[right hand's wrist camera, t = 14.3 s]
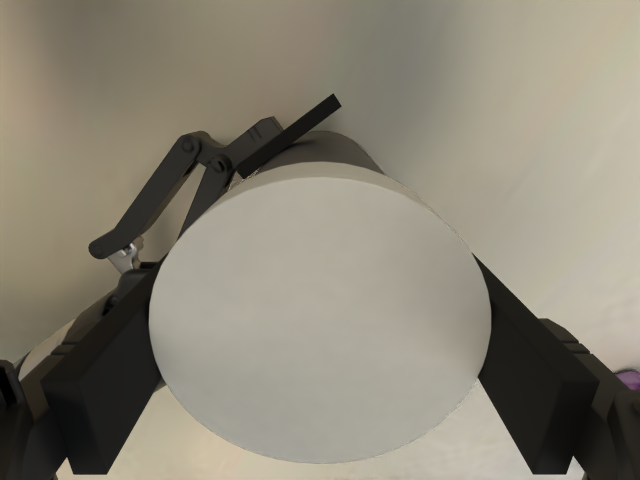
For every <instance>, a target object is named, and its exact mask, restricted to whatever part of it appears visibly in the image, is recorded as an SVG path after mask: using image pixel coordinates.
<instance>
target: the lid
mask: <svg viewBox="0 0 640 480" xmlns="http://www.w3.org/2000/svg"><path fill="white" fill-rule="evenodd" d="M149 333H150V340H151V345H152V349H153V354H154V357H155V361H156V363H157V366H158V368H159V370H160V373H161V375H162V377H163V379H164V381H165V382H166V384H167V385H168V387H169V389H170V390H171V392H172V394H173V395H174V396H175V397H176V399H177V400H178V401H179V402H180V404H181V405H182V406H183V407H184V408H185V409H186V410H187V411H188V412H189V413H190V414H191V415H192V416H193V417H194V418H195V419H196V420H197V421H199V422H200V423H201V424H202V425H204V426H205V427H206V428H208V429H209V430H210V431H212V432H213V433H215V434H216V435H218V436H220V437H221V438H223V439H225V440H226V441H228V442H230V443H232V444H235V445H237V446H239V447H241V448H243V449H245V450H248V451H251V452H254V453H257V454H259V455H262V456H266V457H270V458H274V459H278V460H284V461H290V462H297V463H311V464H329V463H342V462H350V461H357V460H361V459H366V458H370V457H374V456H377V455H380V454H384V453H387V452H390V451H392V450H395V449H397V448H399V447H401V446H404V445H406V444H408V443H410V442H412V441H414V440H415V439H417V438H419V437H421V436H422V435H424V434H426V433H427V432H428V431H430V430H431V429H433V428H434V427H435V426H437V425H438V424H439V423H441V422H442V421H443V420H444V419H445V418H446V417H447V416H448V415H449V414H450V413H452V412H453V411H454V409H455V408H456V407H457V406H458V405H459V404H460V402H461V401H462V400H463V399H464V398H465V396H466V395H467V393H468V392H469V390H470V389H471V387H472V386H473V384H474V383H475V381H476V379H477V377H478V375H479V373H480V371H481V369H482V366H483V364H484V360H485V357H486V354H487V349H488V345H489V339H490V334H491V306H490V300H489V294H488V289H487V286H486V284H485V281H484V278H483V275H482V272H481V270H480V268H479V266H478V264H477V262H476V260H475V258H474V256H473V255H472V253H471V251H470V250H469V249H468V247H467V246H466V245H465V243H464V242H463V241H462V239H461V238H460V237H459V235H458V234H457V233H456V232H455V231H454V230H453V229H452V228H451V227H450V226H449V225H447V224H446V223H445V222H444V221H443V220H442V219H441V218H440V217H439V216H438V215H437V214H436V213H435V212H434V211H433V210H432V209H431V208H430V207H429V206H428V205H427V204H426V203H425V202H424V201H423V200H422V199H421V198H420V197H419V196H417V195H416V194H415V193H413V192H412V191H410V190H409V189H408V188H406V187H405V186H404V185H402V184H400V183H398V182H396V181H395V180H393V179H391V178H389V177H387V176H385V175H383V174H380V173H377V172H375V171H372V170H369V169H366V168H363V167H358V166H354V165H349V164H345V163H334V162H304V163H297V164H291V165H286V166H281V167H277V168H274V169H271V170H268V171H265V172H262V173H260V174H257V175H255V176H253V177H251V178H249V179H247V180H245V181H243V182H241V183H240V184H238V185H237V186H235V187H234V188H232V189H231V190H229V191H228V192H226V193H225V194H224V195H223V196H222V197H221V198H220V199H218V200H217V201H216V202H215V203H214V204H213V205H212V206H211V207H210V208H209V209H208V210H207V211H206V212H204V213H203V214H202V215H201V216H200V217H199V218H198V219H197V220H196V221H195V222H194V223H193V224H192V225H191V226H190V227H189V228H188V229H187V230H186V231H185V232H184V233H183V235H182V236H181V237H180V238H179V239H178V241H177V242H176V243H175V244H174V246H173V247H172V248H171V250H170V252H169V253H168V255H167V257H166V258H165V260H164V262H163V263H162V265H161V267H160V270H159V273H158V275H157V278H156V280H155V283H154V286H153V290H152V295H151V300H150V305H149Z"/></svg>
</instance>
